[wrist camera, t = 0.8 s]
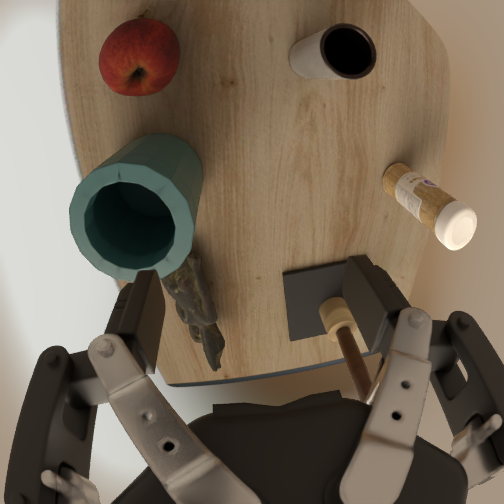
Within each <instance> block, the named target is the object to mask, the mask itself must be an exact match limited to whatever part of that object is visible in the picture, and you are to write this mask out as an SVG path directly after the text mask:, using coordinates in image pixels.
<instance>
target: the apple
mask: <svg viewBox="0 0 504 504" xmlns="http://www.w3.org/2000/svg"><path fill="white" fill-rule="evenodd" d="M179 57H180V48H179V42H178V39H177V37H176V35H175V33H174V32H173V30H172V29H171V28H170V27H169V26H167V25H166V24H164V23H162V22H160V21H157V20H154V19H149V18H139V19H133V20H129V21H127V22H125V23H123V24H121V25H120V26H118V27H117V28H116V29H115V30H114V31H113V32H112V33H111V34H110V35H109V36H108V38H107V39H106V41H105V43H104V44H103V47H102V49H101V52H100V55H99V68H100V72H101V75H102V77H103V79H104V81H105V82H106V84H107V85H108V86H109V87H110V88H111V89H112V90H113V91H115V92H117V93H119V94H122V95H126V96H144V95H150V94H154V93H156V92H158V91H160V90H162V89H163V88H164V87H165V86H167V85H168V84H169V83H170V81H171V80H172V78H173V77H174V75H175V73H176V70H177V67H178V63H179Z"/></svg>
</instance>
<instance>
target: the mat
mask: <svg viewBox="0 0 504 504" xmlns="http://www.w3.org/2000/svg"><path fill="white" fill-rule="evenodd" d="M346 264H347V260H346V261H341V262H337V263H332V264H327V265H322V266H317V267H312V268H307V269H301V270H296V271H291V272H286V273H282V274H283V282H284V291H285V300H286V309H287V318H288V327H289V337H290V341H295V340H300V339H305V338H309V337H314V336H318V335H323V334H327V332H326V330H325V327H324V324H323V322H322V319H321V316H320V313H319V308H320V306H321V304H322V303H323V302H324V301H326V300H327V299H329V298H332V297H341V298H343V299H344V297H343V292H342V286H343V280H344V275H345V269H346Z"/></svg>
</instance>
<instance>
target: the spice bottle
mask: <svg viewBox="0 0 504 504" xmlns="http://www.w3.org/2000/svg"><path fill="white" fill-rule="evenodd" d="M383 188H384V190H385V191H386V192H387V193H388V194H389V195H391V196H393V197H394V198H395V199H396V200H397V201H398V202H399V203H400V204H401V205H402V206H404V207H405V208H406V209H407V210H408V211H409V212H410V213H412V214H413V215H414V216H415V217H416V218H417V219H418V220H419V221H421V222H422V223H423V224H424V225H426V226H427V227H428V228H429V229H430V230H431V231H432V232H433V233H435V235H436V236H437V238H438V239H439V241H440V242H442V244H444V245H445V246H446V247H447V248H448V249H450V250H458V249H460V248H462V247H464V246H465V245H466V244H467V243H468V242H469V241H470V239H471V238H472V236H473V235H474V232H475V229H476V225H477V217H476V214H475V212H474V211H473V210H472V209H471V208H470V207H469V206H467V205H466V204H465V203H463V202H462V201H458V200H456V199H454V198H453V197H451V196H450V195H449V194H447V193H446V192H444V191H443V190H441V188H439V187H438V186H437V185H435V184H434V183H432V182H431V181H429V180H428V179H426V178H425V177H423V176H422V175H420V174H418V173H416V172H414V171H413V170H411V169H410V168H409V167H408V166H406V165H405V164H402V163H395V164H393V165H391V166H390V167H388V169H387V170H386V171H385V173H384V176H383Z"/></svg>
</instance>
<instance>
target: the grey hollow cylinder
mask: <svg viewBox="0 0 504 504" xmlns="http://www.w3.org/2000/svg"><path fill="white" fill-rule="evenodd" d="M289 63H290V66H291V68H292V69H293V70H294V72H295V73H297V74H298V75H299V76H301V77H304V78H307V79H348V80H355V79H360V78H363V77H365V76H366V75H368V74H369V73H370V72H371V71H372V69H373V68H374V66H375V63H376V48H375V45H374V43H373V41H372V39H371V38H370V37H369V35H368V34H367V33H366V32H365V31H363V30H362V29H361V28H359V27H357V26H355V25H352V24H347V23H339V24H335V25H332V26H330V27H328V28H325V29H323V30H321V31H319V32H317V33H315V34H313V35H311V36H309V37H307V38H305V39H303V40H301V41H299V42H297V43H296V44H295V45H293V47H292V48H291V50H290V52H289Z"/></svg>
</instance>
